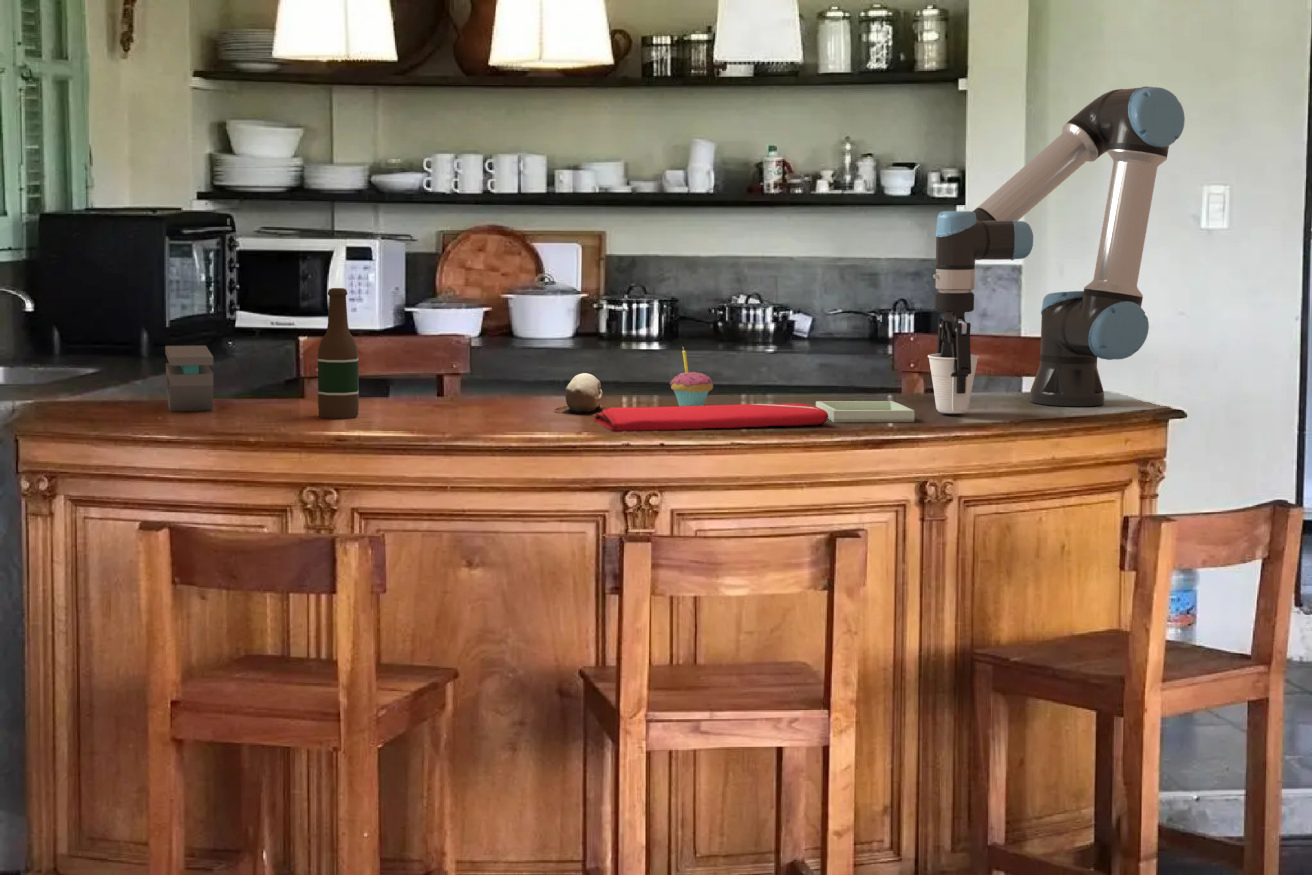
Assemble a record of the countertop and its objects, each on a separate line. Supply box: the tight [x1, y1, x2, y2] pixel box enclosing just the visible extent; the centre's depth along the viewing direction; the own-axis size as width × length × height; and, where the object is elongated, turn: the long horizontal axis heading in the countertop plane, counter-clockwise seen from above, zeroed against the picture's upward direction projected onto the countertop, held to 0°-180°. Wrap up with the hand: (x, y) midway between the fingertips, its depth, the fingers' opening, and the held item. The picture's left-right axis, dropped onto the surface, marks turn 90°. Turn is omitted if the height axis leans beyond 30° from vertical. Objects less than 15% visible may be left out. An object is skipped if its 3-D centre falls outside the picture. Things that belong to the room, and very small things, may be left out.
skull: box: [554, 372, 616, 417], centre depth 362 cm, size 12×10×10 cm
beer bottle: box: [317, 287, 360, 420], centre depth 347 cm, size 8×8×24 cm
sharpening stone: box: [164, 345, 214, 412], centre depth 360 cm, size 25×8×11 cm, turn 17°
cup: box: [927, 353, 980, 414], centre depth 364 cm, size 10×10×11 cm
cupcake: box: [669, 346, 714, 406], centre depth 371 cm, size 9×8×12 cm
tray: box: [815, 400, 915, 423], centre depth 359 cm, size 16×16×2 cm
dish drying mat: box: [594, 402, 828, 432], centre depth 346 cm, size 16×41×4 cm, turn 104°
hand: (952, 407), depth 364 cm, fingers closed on cup, 8 cm apart
